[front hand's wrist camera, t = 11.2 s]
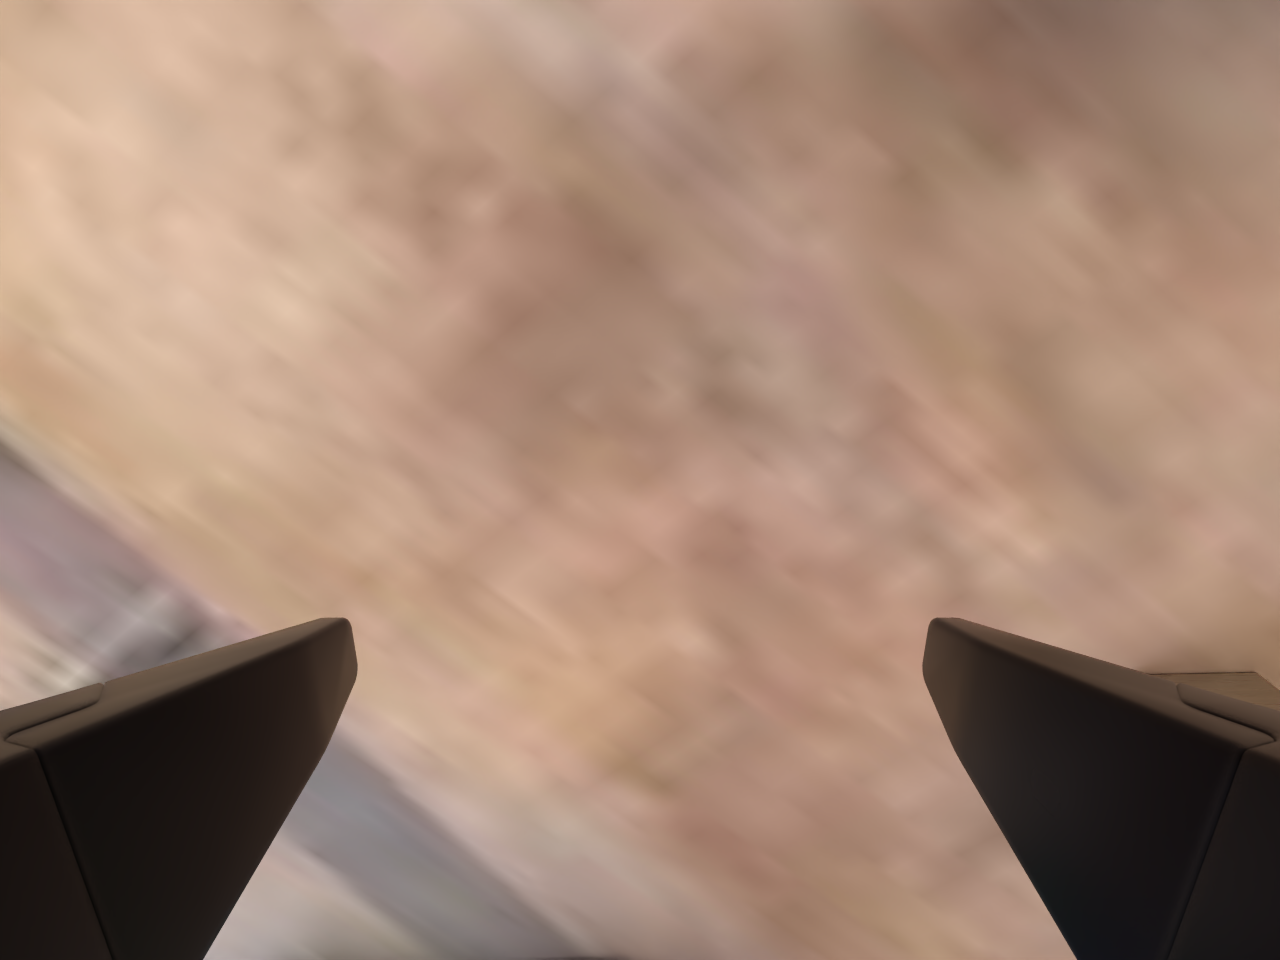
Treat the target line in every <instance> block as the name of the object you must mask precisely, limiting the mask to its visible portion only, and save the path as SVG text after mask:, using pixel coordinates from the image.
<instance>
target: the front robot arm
mask: <svg viewBox="0 0 1280 960" xmlns="http://www.w3.org/2000/svg"><path fill="white" fill-rule="evenodd" d="M356 676H357V658H356V651H355V645H354V639H353V633H352V627H351V624H350V622H349V621H348V620H347V619H346V618H320V619H316V620H313V621H310V622H306V623H303V624H300V625H296V626H293V627H289V628H286V629H283V630H279V631H276V632H273V633H269V634H266V635H262V636H259V637H256V638H252V639H249V640H246V641H242V642H239V643H235V644H232V645H229V646H225V647H222V648H218V649H215V650H212V651H208V652H205V653H202V654H198V655H195V656H191V657H188V658H185V659H181V660H178V661H175V662H171V663H168V664H164V665H161V666H158V667H154V668H151V669H148V670H144V671H141V672H137V673H134V674H131V675H127V676H124V677H120V678H117V679H114V680H110V681H107V682H105V684H104V686H103V684H102V683H97V684H93V685H90V686H87V687H83V688H80V689H76V690H73V691H70V692H66V693H63V694H59V695H56V696H52V697H49V698H45V699H42V700H38V701H35V702H31V703H27V704H24V705H20V706H16V707H13V708H9V709H5V710H2V711H0V960H203V959H204V957H205V955H206V954H207V952H208V950H209V948H210V947H211V945H212V943H213V942H214V940H215V938H216V937H217V935H218V933H219V931H220V930H221V928H222V926H223V925H224V923H225V921H226V919H227V918H228V916H229V914H230V913H231V911H232V909H233V908H234V906H235V904H236V902H237V901H238V899H239V897H240V896H241V894H242V892H243V891H244V889H245V887H246V885H247V884H248V882H249V880H250V879H251V877H252V875H253V874H254V872H255V870H256V868H257V867H258V865H259V863H260V862H261V860H262V858H263V857H264V855H265V853H266V851H267V850H268V848H269V846H270V845H271V843H272V841H273V839H274V838H275V836H276V834H277V833H278V831H279V829H280V828H281V826H282V824H283V822H284V821H285V819H286V817H287V816H288V814H289V812H290V811H291V809H292V807H293V805H294V804H295V802H296V800H297V799H298V797H299V795H300V794H301V792H302V790H303V788H304V787H305V785H306V783H307V782H308V780H309V778H310V777H311V775H312V773H313V771H314V770H315V768H316V766H317V765H318V763H319V761H320V759H321V757H322V756H323V754H324V752H325V750H326V748H327V746H328V744H329V742H330V739H331V737H332V735H333V732H334V730H335V728H336V725H337V723H338V721H339V718H340V716H341V714H342V711H343V709H344V707H345V704H346V702H347V700H348V697H349V695H350V693H351V690H352V688H353V686H354V683H355V680H356ZM923 676H924V680H925V683H926V686H927V688H928V690H929V693H930V695H931V697H932V700H933V702H934V704H935V707H936V709H937V711H938V714H939V716H940V718H941V721H942V723H943V725H944V728H945V730H946V732H947V735H948V737H949V739H950V742H951V744H952V746H953V748H954V750H955V752H956V754H957V756H958V757H959V759H960V761H961V763H962V765H963V766H964V768H965V770H966V771H967V773H968V775H969V777H970V778H971V780H972V782H973V783H974V785H975V787H976V788H977V790H978V792H979V794H980V795H981V797H982V799H983V800H984V802H985V804H986V805H987V807H988V809H989V811H990V812H991V814H992V816H993V817H994V819H995V821H996V822H997V824H998V826H999V828H1000V829H1001V831H1002V833H1003V834H1004V836H1005V838H1006V839H1007V841H1008V843H1009V845H1010V846H1011V848H1012V850H1013V851H1014V853H1015V855H1016V856H1017V858H1018V860H1019V862H1020V863H1021V865H1022V867H1023V868H1024V870H1025V872H1026V874H1027V875H1028V877H1029V879H1030V880H1031V882H1032V884H1033V885H1034V887H1035V889H1036V891H1037V892H1038V894H1039V896H1040V897H1041V899H1042V901H1043V902H1044V904H1045V906H1046V908H1047V909H1048V911H1049V913H1050V914H1051V916H1052V918H1053V919H1054V921H1055V923H1056V925H1057V926H1058V928H1059V930H1060V931H1061V933H1062V935H1063V936H1064V938H1065V940H1066V942H1067V943H1068V945H1069V947H1070V948H1071V950H1072V952H1073V954H1074V955H1075V957H1076V959H1077V960H1280V711H1278V710H1275V709H1271V708H1267V707H1264V706H1260V705H1256V704H1253V703H1249V702H1245V701H1242V700H1238V699H1235V698H1231V697H1228V696H1224V695H1221V694H1217V693H1214V692H1210V691H1207V690H1204V689H1200V688H1197V687H1193V686H1190V685H1187V684H1183V683H1178V684H1177V686H1176V684H1175V682H1173V681H1170V680H1166V679H1163V678H1160V677H1156V676H1153V675H1149V674H1146V673H1143V672H1139V671H1136V670H1132V669H1129V668H1126V667H1122V666H1119V665H1116V664H1112V663H1109V662H1105V661H1102V660H1099V659H1095V658H1092V657H1089V656H1085V655H1082V654H1078V653H1075V652H1072V651H1068V650H1065V649H1062V648H1058V647H1055V646H1051V645H1048V644H1045V643H1041V642H1038V641H1035V640H1031V639H1028V638H1024V637H1021V636H1018V635H1014V634H1011V633H1007V632H1004V631H1001V630H997V629H994V628H991V627H987V626H984V625H980V624H977V623H974V622H970V621H967V620H964V619H960V618H934V619H933V620H932V621H931V622H930V624H929V627H928V633H927V639H926V645H925V651H924V658H923Z"/></svg>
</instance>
